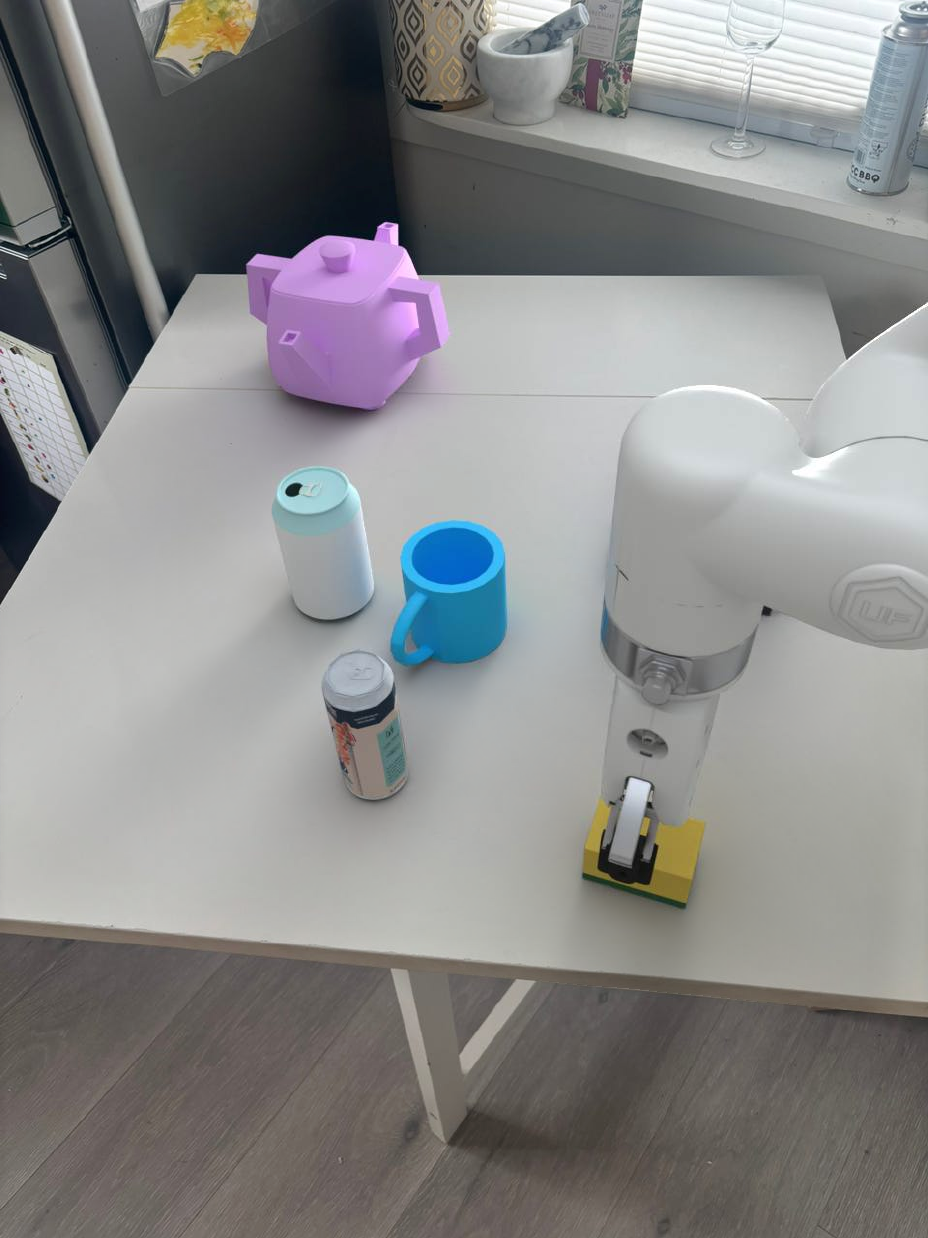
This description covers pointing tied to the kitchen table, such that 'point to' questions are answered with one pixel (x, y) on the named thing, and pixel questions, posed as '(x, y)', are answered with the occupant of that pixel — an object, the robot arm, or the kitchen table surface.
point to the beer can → (365, 724)
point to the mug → (451, 594)
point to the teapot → (346, 318)
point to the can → (323, 542)
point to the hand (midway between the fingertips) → (643, 807)
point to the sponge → (670, 863)
